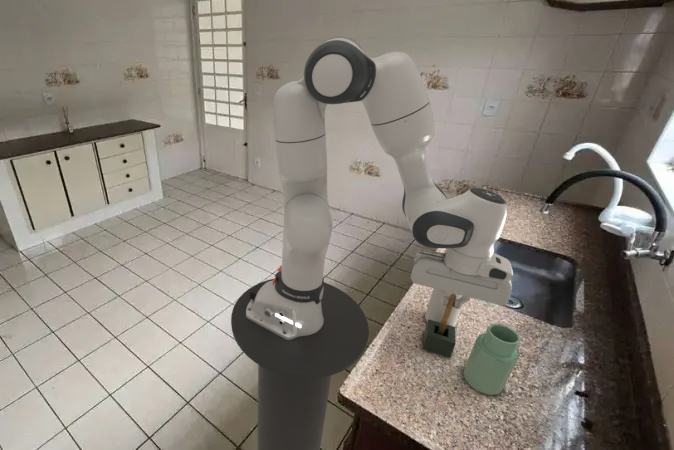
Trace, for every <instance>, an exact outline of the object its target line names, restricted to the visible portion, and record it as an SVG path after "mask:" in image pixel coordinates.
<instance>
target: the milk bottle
mask: <svg viewBox="0 0 674 450" xmlns="http://www.w3.org/2000/svg"><path fill="white" fill-rule="evenodd" d="M432 289H433V290H432V292H431V295H430V298H429V301H428V305H427V309H426V312H425V315H424V318H425V321H426V323H427V322H428V319H429V320H433V321H436V322H440V323H441V320H442V317H443V314H444V311H445V308H446V305H443V304H441V296H440V293H439V289H435V288H432ZM450 294H455V293H451V292H446V294H445V296H448V297H449V296H450ZM455 295H456V299H459V298H461V297H462V295H458V294H455ZM463 305H464V304H462V305H461V308H460V309H458V308H454V307H453V308H452V311H451V314H450V317H449V320H448V323H447V325H450V326H454V327H455V328H456V324H457V322H458V319H459V316H460V314H461V310H462V308H463Z"/></svg>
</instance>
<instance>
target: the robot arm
mask: <svg viewBox="0 0 674 450" xmlns="http://www.w3.org/2000/svg"><path fill="white" fill-rule="evenodd" d="M355 102H361V103H362V104H363V106H364V108H365V111H366V114H367V117H368V120H369V123H370V125H371V128H372V131H373V134H374V136H375V137H376V140H377V142H378V144H379V145H380V147H381V148H382V151H383V152H384V153H385V154H386V155H388V156H391V157H392V159H393V160H394V162H395V164H396V166H397V170H398V173H399V175H400V179H401V182H402V185H403V197H402V203H401V209H402V213H403V214H404V217H405V218H406V220H407V223H408V226H409V228H410V231H411V234H412V236H413V238H414V241H416V242H417V243H419V244H420V245H422V246H423V247H426V248H423V249H420V250H418V251H416V252H415V254H414V257H413V262H414V265H413V267H412V270H411V273H410V280H411V282H412V283H413V284H416V285H419V286H422V287H423V286H424V287H428V288H431V289H434V288H435V289H439V293H440V296H441V304H443V305H446V306H447V305H448V302H449V297H448V296H445V294H446V292H451V293H455V294H458V295H462V297H461V298H459V299H456V300H455V302H454V305H453V307H454V308H458V309H460V308H461V305H462V304H463V305H464V304H466V303H467V302H469V301H470V299H475V300H477V301H478V300H479V301H483V302H486V303H491V304H493V305H497V306H504V305H506V304H508V303H509V301H510V298H511V295H512V290H513V284H512V279H513V277H514V271H513V267H512V264H511V262H510V260H509V259H508V258H505V257H504V256H502V255H499V254H498V253H496V252H495V244H496V243H497V242H498V240H499V239H500V237H501V235H502V232H503V230H504V227H505V224H506V220H507V217H508V210H509V207H508V206H509V205H508V203H507V201H506V200H505V198H503V197H502V196H501V195H499V194H498V193H496V192H493V191H492V190H488V189H485V188H480V187H472V188H469V189H468V190H466V191H465V192H463V193H461V194H459V195H457V196H454V197H450V198H448V197H447V196H446V194H445V193H444V191H443V190H442V189H441V188H440V187H439V186H438V185H437V184H436V183H435V182H434V180H433V176H432V173H431V169H430V165H429V161H428V158H427V152H426V148H427V146H428V145H430V143H431V141H432V140H433V138H434V136H435V120H434V113H433V108H432V105H431V100H430V97H429V94H428V90H427V88H426V86H425V83H424V80H423V78H422V76H421V74H420V71H419V70H418V68H417V66H416V63H415V62H414V60H413V58H412V57H411V56H410V55H409V54H407V53H406V52H403V51H391V52H386V53H384V54H381V55H380V56H377V57H369V56H368V55H367V54H366V53H365V52H364V50H363V48H362V46H361V45H360V44H359V42H357V41H356V40H355V39H353V38H351V37H346V36H342V35H341V36H332V37H329V38H327V39H325V40H323V41H322V42H320V43H319V44H318V45H317V46H316V48H315V49H313V51H312V52H311V53H310V55H309V56H308V58H307V60H306V63H305V65H304V71H303V77H302V78H301V79H298V80H293V81H289V82H287V83H285V84H283V85H282V86H281V87H280V88H278V89H277V91H276V93H275V94H274V99H273V113H272V114H273V116H272V117H273V122H272V123H273V135H274V144H275V153H276V161H277V168H278V174H279V179H280V184H281V189H282V196H283V207H284V208H283V233H282V251H281V252H282V253H281V265H280V266H279V267H278V268H277V271H278V272H276V273H275V274H274V278H272V279H273V281H269V282H267V283H266V284H264V285H263V284H261V282H258V283H257V285H256V284H255V285H256V286H255V287H254V288H253V289H252V290H251V291H250V298H251V300H250V302H249V304H248V306H247V308H246V318H248V319H249V320H251V321H253V322H255V323H257V324H258V325H260V326H262V327H264V328H266V329H268V330H269V331H271V332H273V333H275V334H277V335H279V336H280V337H282V338H284V339H286V340H292V339H294V338H296V337H299V336H307V335H311V334H314V333H316V332H317V331H319V330H320V329H321V327H322V326H323V323H324V318H323V314H322V308H321V299H322V297H323V290H324V282H325V279H324V272H325V271H324V270H325V261H326V257H327V256H326V255H327V252H328V249H329V245H330V242H331V241H330V240H331V237H332V232H333V219H332V215H331V214H332V213H331V210H330V204H329V195H328V155H327V154H328V153H327V152H328V151H327V137H326V136H327V135H326V121H325V119H326V110H327V109H326V108H327V106H328V105H341V104H347V103H355ZM427 248H430V249H445V250H444V251H445V252H441V251H436V250H430V249H427ZM463 305H462V306H463ZM461 309H462V308H461Z"/></svg>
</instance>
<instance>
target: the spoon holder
mask: <svg viewBox="0 0 674 450" xmlns="http://www.w3.org/2000/svg"><path fill="white" fill-rule="evenodd" d="M439 326H440V322H436V321H433V320H429V319H428V322H427V321H426V324H425V328H424V331H423V339H422V340H423V342H422V350H424V351H427V352H430V353H434V354H436V355H441V356H443V357H446V358H451V357H452V355H453V351H454V349H455V347H456V326H455V327H454V326H450V325H447V326H446V329H445V331H444V334H443V335H439V334H437V331H438V329H439Z"/></svg>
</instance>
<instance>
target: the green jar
mask: <svg viewBox="0 0 674 450" xmlns="http://www.w3.org/2000/svg"><path fill="white" fill-rule="evenodd" d="M520 343H521V337H520V335H519V333H518V332H517V331H515V329H512V328H511V327H509V326H507V325H503V324H500V323H492V324H490V325H488V327H487V329H486V331H485V332H484V333H481V334H479V335H478V336H477V337H476V340H475V342H474V344H473V347H472V349H471V351H470V354H469V356H468V358H467V361H466V363H465V366H464V368H463V378H464V380H465V381H466V382H467V384H468V385H470V387H471V388H473V389H475V390H476V391H477V392H480V393H482V394H485V395H489V396H495V395H499V394H501V392H502V391H503V389H504V388H505V386H506V385H507V382H508V380H509V378H510V377H511V374H512V372H513V370H514V368H515V366H516V365H517V363H518V361H519V359H520V357H521V354H520V350H519V348H518V347H519V345H520Z"/></svg>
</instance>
